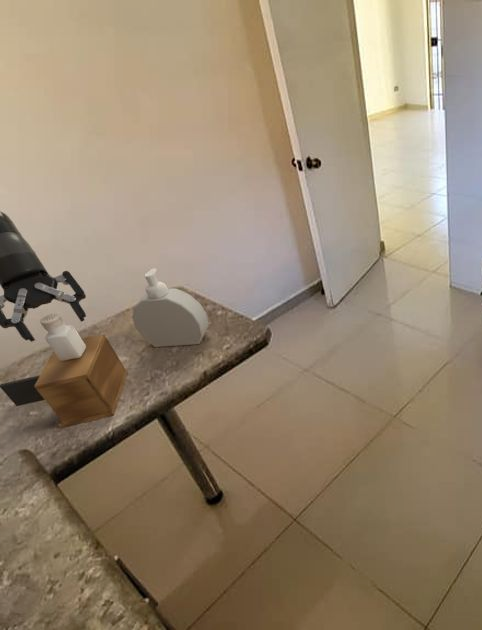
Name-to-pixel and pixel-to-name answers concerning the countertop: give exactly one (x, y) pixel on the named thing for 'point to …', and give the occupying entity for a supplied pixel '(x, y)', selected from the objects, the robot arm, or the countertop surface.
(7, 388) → the dark grey block
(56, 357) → the wooden box
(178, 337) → the soap bottle
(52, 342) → the white bottle
